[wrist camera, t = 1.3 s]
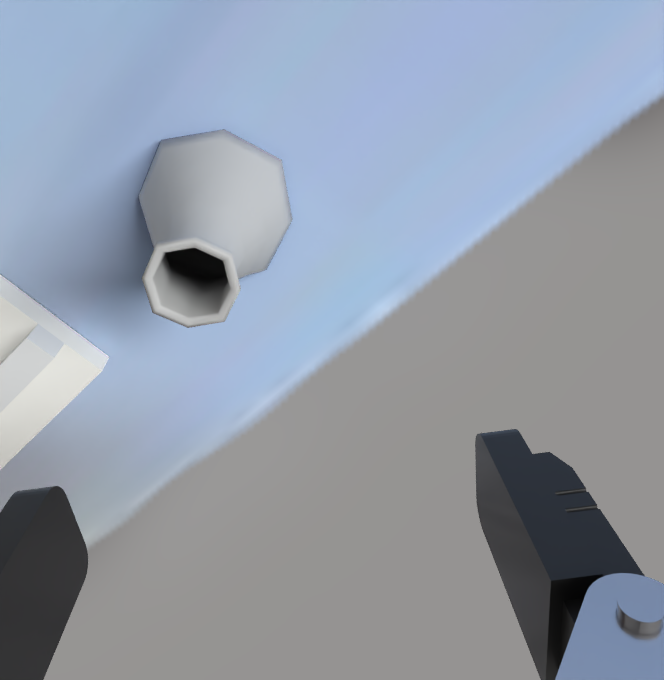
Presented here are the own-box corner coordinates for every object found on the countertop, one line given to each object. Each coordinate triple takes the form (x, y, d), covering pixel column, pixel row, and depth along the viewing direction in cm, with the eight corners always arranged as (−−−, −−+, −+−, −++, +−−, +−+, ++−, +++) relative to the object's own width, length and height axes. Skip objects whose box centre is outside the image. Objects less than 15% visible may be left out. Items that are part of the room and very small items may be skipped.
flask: (137, 267, 29) (77, 367, 21) (142, 113, 26) (75, 155, 17) (281, 286, 31) (284, 389, 22) (303, 142, 27) (317, 193, 19)
